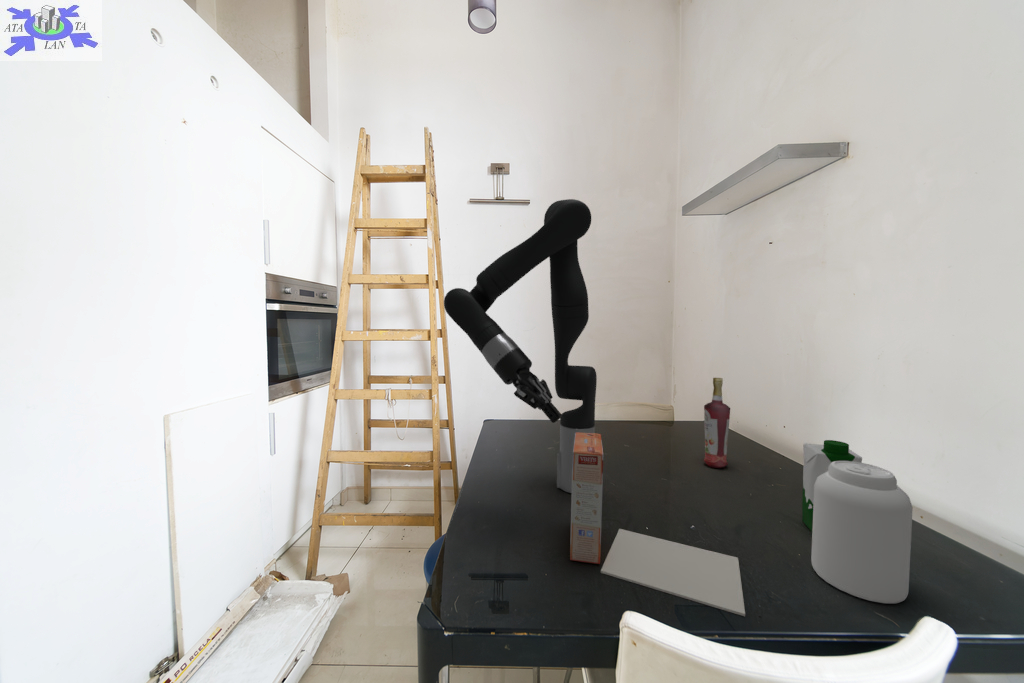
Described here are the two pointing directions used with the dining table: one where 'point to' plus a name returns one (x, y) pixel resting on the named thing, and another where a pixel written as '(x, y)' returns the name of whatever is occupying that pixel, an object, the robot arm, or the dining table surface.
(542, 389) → the robot arm
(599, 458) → the cracker box
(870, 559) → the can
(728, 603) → the mat
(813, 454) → the milk carton
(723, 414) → the liquor
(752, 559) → the dining table surface
